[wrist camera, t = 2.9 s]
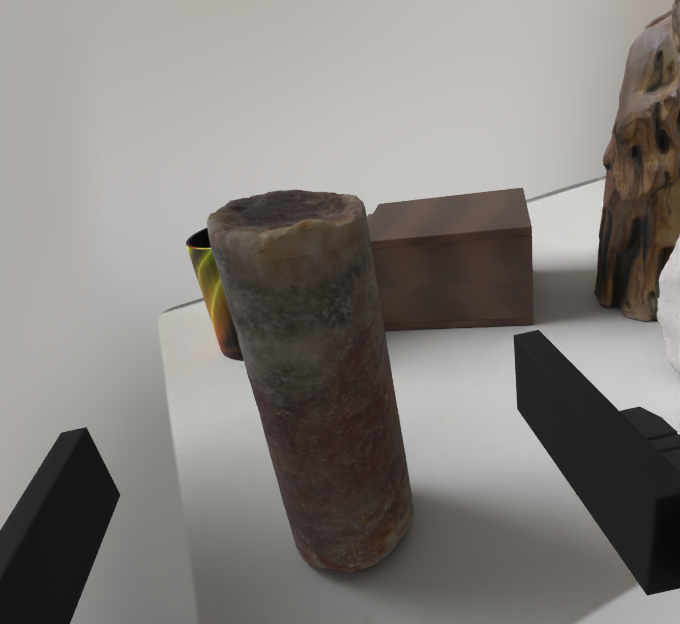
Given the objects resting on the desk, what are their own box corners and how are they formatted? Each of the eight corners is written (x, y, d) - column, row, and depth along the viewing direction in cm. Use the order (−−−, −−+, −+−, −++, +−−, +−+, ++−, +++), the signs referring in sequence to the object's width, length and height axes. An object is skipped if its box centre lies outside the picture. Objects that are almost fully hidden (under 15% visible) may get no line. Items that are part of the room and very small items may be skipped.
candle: (350, 463, 36) (285, 178, 27) (441, 506, 31) (398, 178, 23) (270, 542, 31) (161, 226, 23) (364, 606, 27) (272, 239, 18)
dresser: (370, 331, 53) (354, 242, 48) (390, 280, 63) (378, 203, 59) (533, 325, 48) (531, 226, 44) (525, 270, 59) (523, 187, 55)
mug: (285, 295, 65) (261, 202, 60) (320, 339, 53) (294, 228, 48) (210, 319, 63) (178, 225, 57) (228, 371, 51) (191, 257, 45)
